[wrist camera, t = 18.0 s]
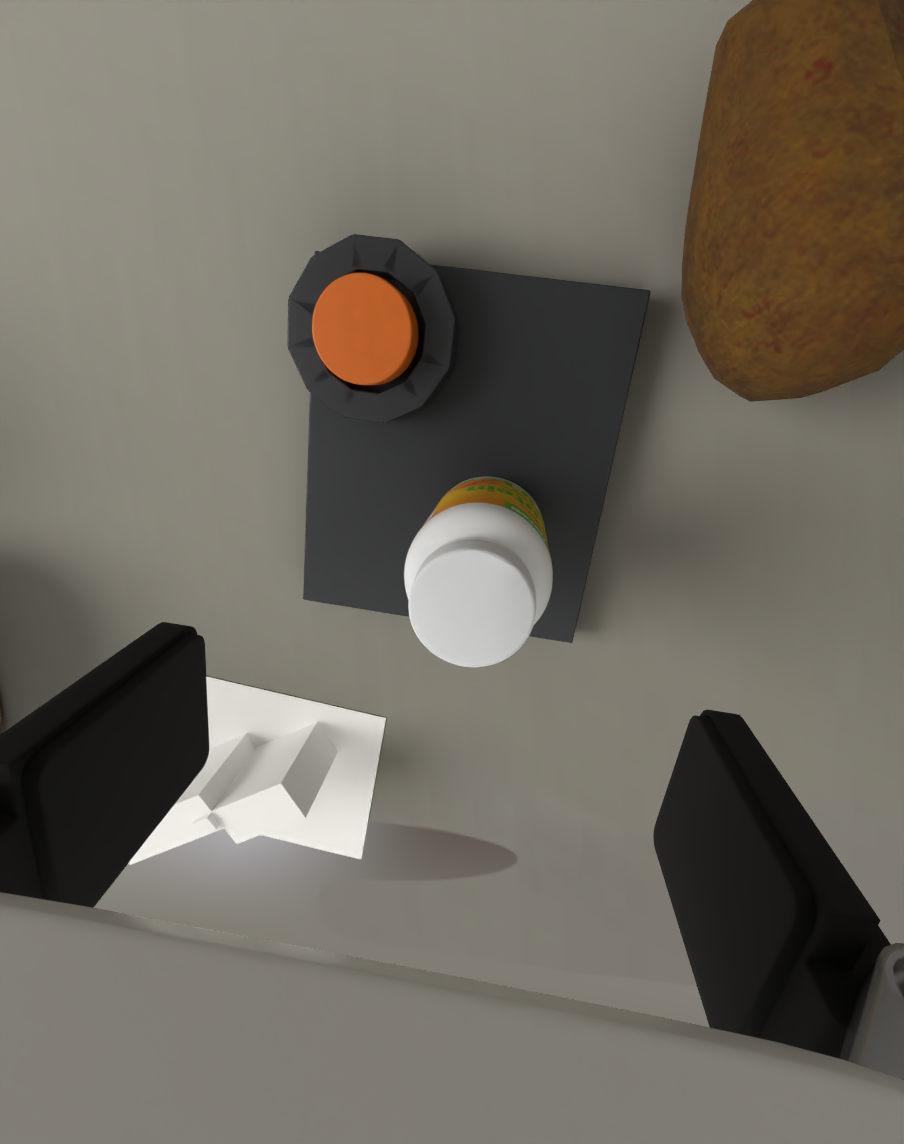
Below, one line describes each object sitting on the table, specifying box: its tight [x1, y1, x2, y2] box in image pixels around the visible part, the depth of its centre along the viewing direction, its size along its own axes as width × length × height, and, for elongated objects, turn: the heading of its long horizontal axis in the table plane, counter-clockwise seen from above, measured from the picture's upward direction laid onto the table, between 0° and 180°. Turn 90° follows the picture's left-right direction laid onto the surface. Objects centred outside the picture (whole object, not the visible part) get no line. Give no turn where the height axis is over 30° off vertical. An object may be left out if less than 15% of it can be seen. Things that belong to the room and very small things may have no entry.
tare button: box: [312, 273, 419, 385], centre depth 22 cm, size 4×4×2 cm
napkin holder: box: [129, 677, 386, 865], centre depth 31 cm, size 15×11×6 cm
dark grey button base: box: [288, 234, 650, 643], centre depth 25 cm, size 16×14×3 cm
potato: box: [682, 0, 904, 401], centre depth 18 cm, size 8×12×9 cm
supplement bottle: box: [404, 477, 553, 667], centre depth 21 cm, size 5×5×10 cm
